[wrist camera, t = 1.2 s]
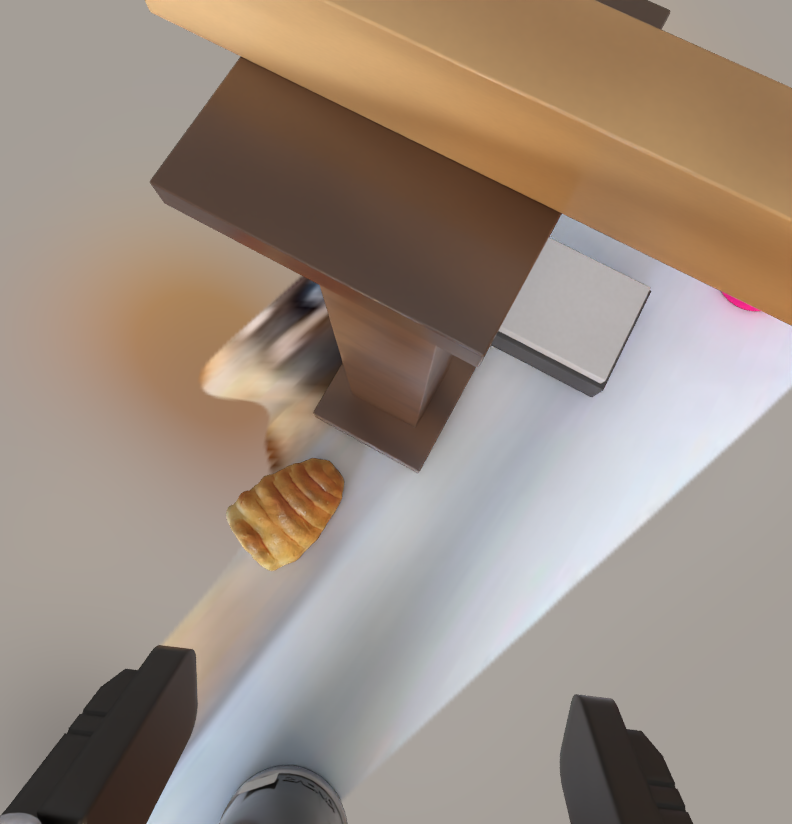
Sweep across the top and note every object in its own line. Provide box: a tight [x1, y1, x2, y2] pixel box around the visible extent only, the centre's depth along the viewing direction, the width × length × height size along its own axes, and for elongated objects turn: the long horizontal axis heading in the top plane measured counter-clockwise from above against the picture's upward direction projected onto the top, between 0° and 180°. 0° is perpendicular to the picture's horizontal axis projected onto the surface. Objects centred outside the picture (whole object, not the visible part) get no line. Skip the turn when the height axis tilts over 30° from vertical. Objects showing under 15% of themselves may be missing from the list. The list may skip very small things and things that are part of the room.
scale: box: [491, 238, 651, 397], centre depth 46 cm, size 10×18×4 cm, turn 61°
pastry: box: [226, 458, 344, 571], centre depth 42 cm, size 9×7×4 cm
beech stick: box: [145, 0, 792, 326], centre depth 13 cm, size 3×22×3 cm, turn 61°
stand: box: [150, 0, 670, 473], centre depth 30 cm, size 12×10×32 cm
